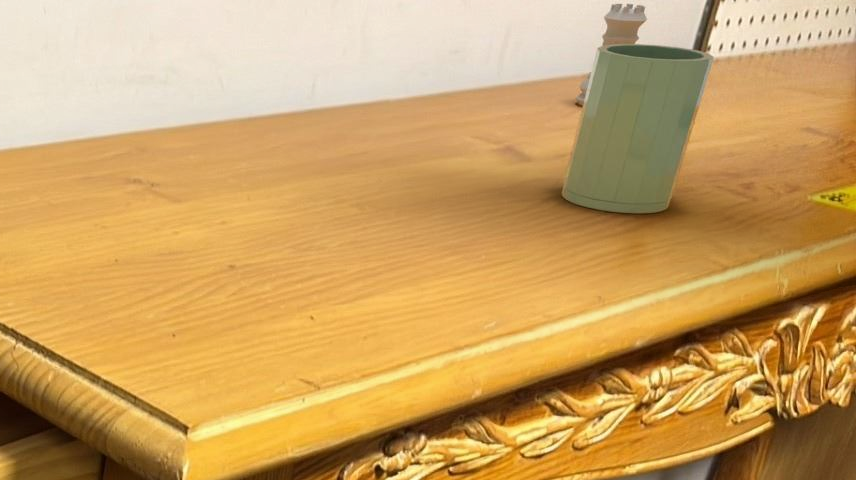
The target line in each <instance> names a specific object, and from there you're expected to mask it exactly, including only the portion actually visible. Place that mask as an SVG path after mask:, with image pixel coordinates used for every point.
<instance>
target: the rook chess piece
mask: <svg viewBox="0 0 856 480" xmlns="http://www.w3.org/2000/svg"><path fill="white" fill-rule="evenodd" d="M645 10H646V6H644V5H643V4H637V5H636V6H635V7H634V3H626V5H625V6H623V3H612V4H611V6H610V11H608V12H607V13H606V14H605V15H604V16H603V20H604V21H605V24H606V31H605V33H604V34H603V35H601V38H602V40H603V41H602V45H601V46H604V45H613V44H636V42H637V41H639V39H640V37H639V36H638V35H639V34H638V32H639V29H640V27H642V25H644V23H645V22H646V21H647V20H648V18H647V16H646V14H645ZM587 74H588V76H587V77H586V78H585V79H584V80H582V81H581V83H580V85H579V90H580V91H581V93H580V94H578V95H576V97H575V99H576V101H577V104H578V105H579V106H580V107H583V103H584V99H585V95H586V91H587V87H588V83H589V79H590V75H591V71H590V72H588V73H587Z"/></svg>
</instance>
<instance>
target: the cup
mask: <svg viewBox="0 0 856 480" xmlns="http://www.w3.org/2000/svg"><path fill="white" fill-rule="evenodd" d="M714 58H715V57H714V56H713V55H712V54H710V53H708V52H705V51H701V50H698V49H691V48H686V47H679V46H670V45H659V44H658V45H657V44H644V43H643V44H640V43H639V44H638V43H635V44H613V45H604V46H602V45H601V46H599V47H597V49H596V51H595V56H594V60H593V65H592V68H591V71H590V72H591V75H590V79H589V83H588V87H587V91H586V95H585V99H584V103H583V106H581V111H580V115H579V118H578V119H579V120H578V123H577V127H576V131H575V135H574V139H573V143H572V147H571V151H570V154H569V159H568V163H567V167H566V170H565V174H564V179H563V183H562V185H563V186H562V190H561V197H562V198H563V199H565V201H567V202H569V203H571V204H574V205H577V206H580V207H584V208H587V209H591V210H597V211H603V212H611V213H619V214H637V215H638V214H639V215H641V214H642V215H643V214H654V213H660V212H664V211H666V210H667V209H668V208H669V207H670V202H671V199H672V198H673V196H674V192H675V189H676V186H677V182H678V179H679V176H680V172H681V169H682V165H683V162H684V159H685V155H686V151H687V148H688V145H689V142H690V138H691V135H692V131H693V128H694V125H695V121H696V118H697V116H698V112H699V109H700V105H701V102H702V98H703V95H704V91H705V88H706V85H707V83H708V78H709V74H710V71H711V68H712V65H713V61H714Z"/></svg>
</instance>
